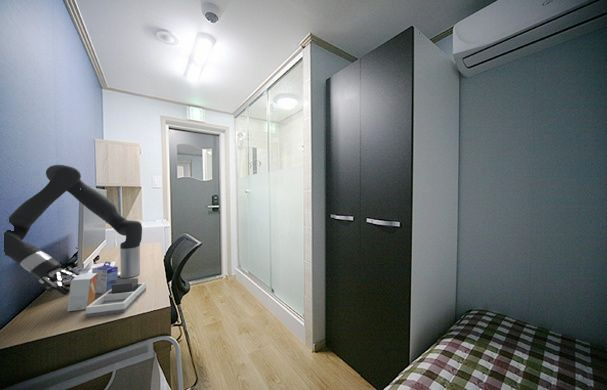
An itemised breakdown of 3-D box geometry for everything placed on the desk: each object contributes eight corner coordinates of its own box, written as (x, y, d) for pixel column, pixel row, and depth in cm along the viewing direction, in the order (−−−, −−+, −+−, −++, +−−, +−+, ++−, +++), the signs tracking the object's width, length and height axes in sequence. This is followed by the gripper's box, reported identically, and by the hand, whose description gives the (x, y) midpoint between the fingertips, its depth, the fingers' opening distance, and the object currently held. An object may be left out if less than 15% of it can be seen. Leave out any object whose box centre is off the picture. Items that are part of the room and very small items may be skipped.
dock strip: (115, 293, 106) (115, 278, 105) (146, 290, 109) (146, 275, 109) (85, 317, 85) (85, 298, 85) (124, 312, 89) (124, 294, 89)
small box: (87, 309, 91) (90, 279, 91) (66, 311, 88) (70, 280, 89) (95, 300, 98) (98, 272, 99) (76, 302, 96) (79, 273, 96)
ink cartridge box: (118, 289, 110) (118, 261, 110) (106, 294, 104) (106, 265, 104) (103, 287, 112) (103, 260, 112) (91, 292, 106) (91, 264, 106)
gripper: (33, 263, 83) (70, 289, 86) (63, 253, 97) (94, 275, 100) (15, 278, 82) (53, 303, 85) (48, 265, 95) (79, 288, 99)
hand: (75, 288), depth 93 cm, fingers closed on small box, 8 cm apart
